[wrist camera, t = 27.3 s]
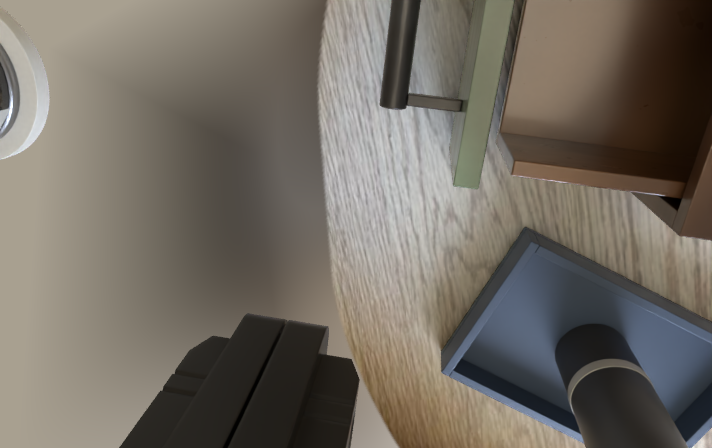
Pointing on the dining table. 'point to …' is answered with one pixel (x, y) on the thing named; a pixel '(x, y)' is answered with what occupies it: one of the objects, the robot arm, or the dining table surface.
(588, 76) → the drawer
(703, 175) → the cabinet
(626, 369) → the pepper mill
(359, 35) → the dining table surface
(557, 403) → the tray
